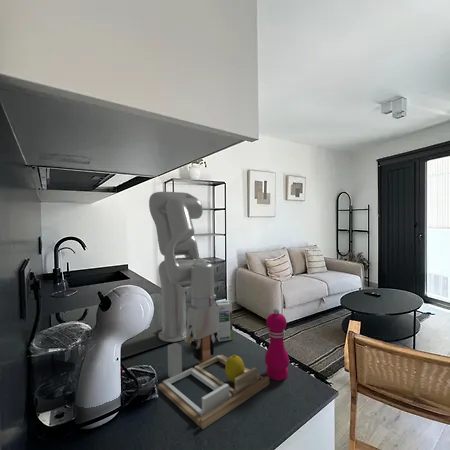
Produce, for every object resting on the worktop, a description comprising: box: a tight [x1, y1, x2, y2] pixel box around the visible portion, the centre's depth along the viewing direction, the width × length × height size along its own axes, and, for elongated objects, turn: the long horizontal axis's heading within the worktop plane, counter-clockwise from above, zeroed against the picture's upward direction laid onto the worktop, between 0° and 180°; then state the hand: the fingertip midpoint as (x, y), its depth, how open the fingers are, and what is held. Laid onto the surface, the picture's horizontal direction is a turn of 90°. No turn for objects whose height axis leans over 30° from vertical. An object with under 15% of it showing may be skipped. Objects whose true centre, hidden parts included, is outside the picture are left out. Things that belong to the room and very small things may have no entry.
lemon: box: [224, 354, 245, 384], centre depth 77 cm, size 6×6×8 cm
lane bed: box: [157, 354, 270, 430], centre depth 75 cm, size 20×24×2 cm
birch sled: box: [193, 335, 260, 396], centre depth 81 cm, size 21×10×9 cm, turn 42°
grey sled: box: [162, 342, 232, 418], centre depth 73 cm, size 21×10×9 cm, turn 42°
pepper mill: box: [264, 308, 290, 381], centre depth 80 cm, size 7×7×20 cm
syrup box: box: [214, 299, 234, 343], centre depth 106 cm, size 6×6×14 cm
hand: (203, 355), depth 87 cm, fingers open, 4 cm apart
